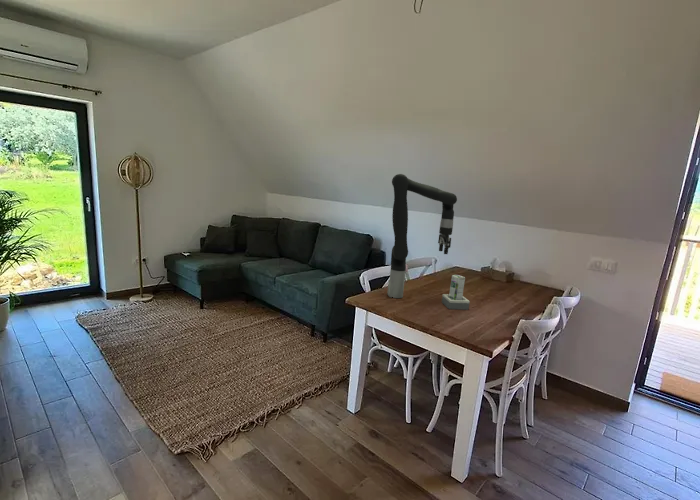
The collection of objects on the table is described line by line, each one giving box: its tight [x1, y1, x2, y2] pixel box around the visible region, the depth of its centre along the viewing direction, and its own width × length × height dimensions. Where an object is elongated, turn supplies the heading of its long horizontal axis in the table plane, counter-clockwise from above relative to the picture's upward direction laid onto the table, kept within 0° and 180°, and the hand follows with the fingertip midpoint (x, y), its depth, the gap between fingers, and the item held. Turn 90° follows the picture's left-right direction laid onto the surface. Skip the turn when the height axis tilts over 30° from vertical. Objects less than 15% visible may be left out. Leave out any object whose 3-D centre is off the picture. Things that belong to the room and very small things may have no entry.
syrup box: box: [448, 274, 466, 300], centre depth 221 cm, size 6×6×14 cm
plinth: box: [441, 293, 470, 311], centre depth 223 cm, size 12×12×5 cm
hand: (443, 252), depth 227 cm, fingers open, 8 cm apart
